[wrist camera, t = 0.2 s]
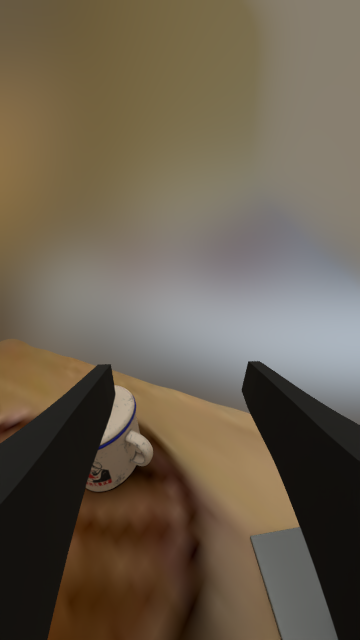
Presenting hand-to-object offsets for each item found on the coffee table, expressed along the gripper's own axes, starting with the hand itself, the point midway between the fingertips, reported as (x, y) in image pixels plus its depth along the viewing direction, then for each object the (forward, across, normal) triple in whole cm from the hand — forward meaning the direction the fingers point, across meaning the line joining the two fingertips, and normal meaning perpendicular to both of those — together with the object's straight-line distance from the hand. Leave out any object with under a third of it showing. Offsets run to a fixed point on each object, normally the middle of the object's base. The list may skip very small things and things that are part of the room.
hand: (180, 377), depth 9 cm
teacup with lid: (+8, +8, +22) cm, 25 cm away
